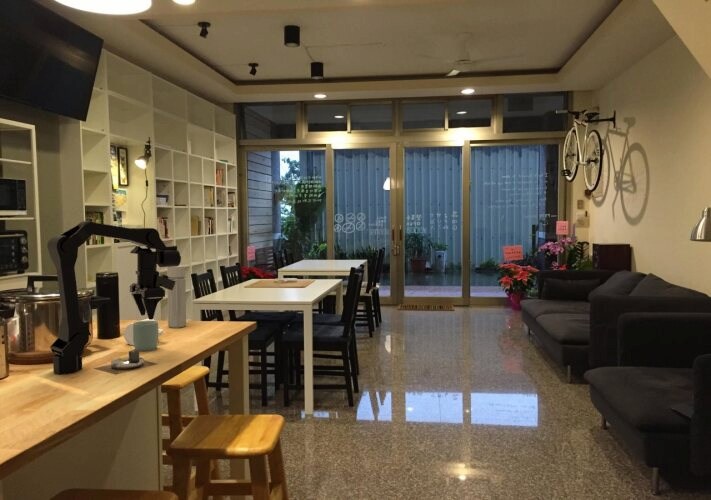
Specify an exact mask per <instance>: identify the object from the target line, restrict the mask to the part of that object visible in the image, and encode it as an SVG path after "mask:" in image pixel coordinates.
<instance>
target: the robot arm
mask: <svg viewBox="0 0 711 500" xmlns="http://www.w3.org/2000/svg"><path fill="white" fill-rule="evenodd" d="M92 236H96V237H103V238H104V237H105V238H111V239H117V240H123V241H127V242H129V243H131V244H135V247H134V248H133V249H131V251H130V252H129V253H130V254H135V255H136V257H137V259H136V261H137V263H136V266H137V267H136V270H135V275H137V276H136V277H137V279H136V281H137V282H133V283H132V284H131V285H130V286H129V292H130V293H131V294H130V295H131V297H132V299H133V300H134V302H135V305H136V306H137V310H138V311H139V314H140V316H145V315H147V317H148V318H147V319H149V320H152V319H153V320H154V317H155V313H156V310H157V307H158V304H159V303H160V302H161V301H162V300H164V298H165V297H166V290H165V289H169V290H173V288H174V285H175V282H176V281H173V280H170V279H168V276H167V274H161V275H160V272H159V271H158V270H157V266H158V267H159V268H167V267H177V266H180V264H181V260H182V256H181V254H180V251H179V250H178V246H177V245H169V246H167V245H166V243H164V241H163V240H162V238H161V236H160V233H159V231H158V229H156V228H153V227H124V226H118V225H111V224H105V223H100V222H94V221H93V220H83V221H80V223H78V224H77V225H75V226H74V227H72V228H70V229H68V230H66V231H64V232H63V233H61V234H59V235H54V236H52V237H51V238H50V239H49V240H48V242H47V245H46V246H47V250H48V254H49V257H50V260H51V261H52V263H53V265H54V267H55V269H56V277H57V284H58V286H57V287H58V292H59V300H60V308H61V320H60V324H59V326H58V327H59V328H58V329H59V330H58V337H57V338H56V339H55V341H54V342H53V343H52V344H50V346H49V349H50V351H51V353H52V354H53V355H52V363H53V364H52V365H53V366H52V367H53V368H52V369H53V374H54V375H59V376H61V375H71V374H75V373H78V372H79V371H81V370H83V357H82V356H81V355H83V351H84V348H85V346H86V345H87V344H88V343H89V341H90V336H92V334H91V332H90V322H89V321H88V320H85V319H83V318H82V316H81V312H80V311H81V310H80V303H79V295H78V294H79V293H78V285H77V276H76V263H77V260H78V256H79V254H78V253H79V248H80V247H81V246H83V244H85V243H86V242H87V240H89V239H90V237H92ZM154 250H155V251H154Z"/></svg>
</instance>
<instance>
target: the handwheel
mask: <svg viewBox="0 0 711 500" xmlns="http://www.w3.org/2000/svg"><path fill="white" fill-rule="evenodd" d="M144 360H145V358H143V357H140V351H139V350H135V349H133V350H129V351H128V356H125V357H117V358H115V359H112V360H111V361H110V365H111V367H112V368H117V369H127V368H134V367H139V366H141V365H143V364H144Z"/></svg>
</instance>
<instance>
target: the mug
mask: <svg viewBox="0 0 711 500" xmlns="http://www.w3.org/2000/svg"><path fill="white" fill-rule="evenodd" d="M140 321H156V320H155V319H154V318H153V319H152V320H149V318H146V319H145V318H144V319H143V320H142V319H141V320H140ZM133 323H134V322H131V323H129V324H126V326H125V328H124V330H123V337H124V340H125V342H126V343H127V344H128V345H131V346H133V347H134V342H133ZM162 335H164V329H162V328H160V326H159V324H158V337H159V336H162Z"/></svg>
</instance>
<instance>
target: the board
mask: <svg viewBox="0 0 711 500" xmlns="http://www.w3.org/2000/svg"><path fill="white" fill-rule="evenodd" d="M156 365H159V363H158V362H152V361H149V360H145V359H144V364H143V365H141V366H139V367H134V368H127V369H117V368H112V367H111V364H106V365H103V366H98V367H94V368H93V370H97V371H101V372H105V373H109V374H111V375H120V374H123V373H127V372H132V371H135V370H136V371H137V370H140V369H144V368H149V367H151V366H152V367H153V366H156Z"/></svg>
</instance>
